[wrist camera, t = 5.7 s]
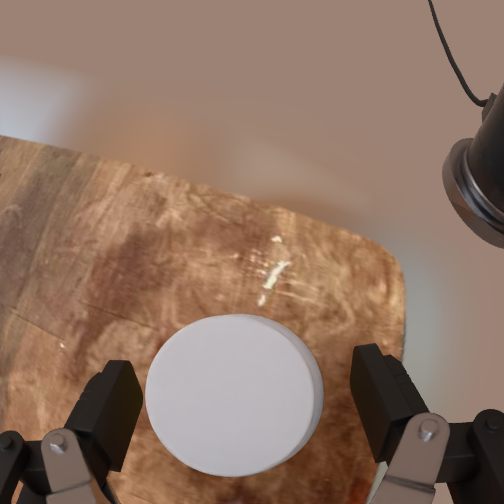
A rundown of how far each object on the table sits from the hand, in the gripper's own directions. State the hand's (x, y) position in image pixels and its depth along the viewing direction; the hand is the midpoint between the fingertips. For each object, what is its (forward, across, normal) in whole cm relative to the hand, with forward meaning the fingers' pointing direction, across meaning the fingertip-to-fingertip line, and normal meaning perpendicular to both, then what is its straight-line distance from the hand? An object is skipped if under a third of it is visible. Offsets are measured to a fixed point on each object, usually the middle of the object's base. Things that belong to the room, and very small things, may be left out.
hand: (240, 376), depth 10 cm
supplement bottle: (+4, 0, +5) cm, 6 cm away
